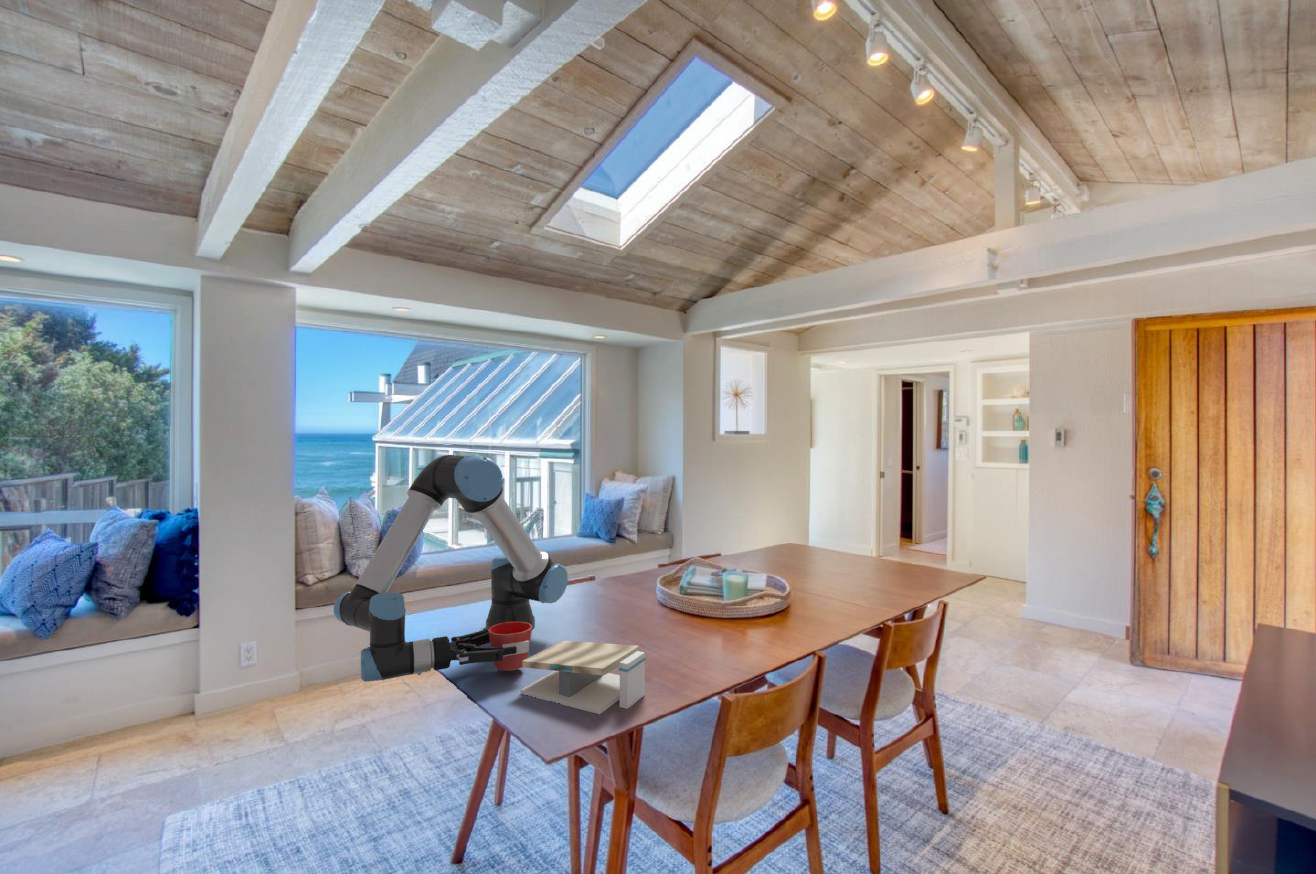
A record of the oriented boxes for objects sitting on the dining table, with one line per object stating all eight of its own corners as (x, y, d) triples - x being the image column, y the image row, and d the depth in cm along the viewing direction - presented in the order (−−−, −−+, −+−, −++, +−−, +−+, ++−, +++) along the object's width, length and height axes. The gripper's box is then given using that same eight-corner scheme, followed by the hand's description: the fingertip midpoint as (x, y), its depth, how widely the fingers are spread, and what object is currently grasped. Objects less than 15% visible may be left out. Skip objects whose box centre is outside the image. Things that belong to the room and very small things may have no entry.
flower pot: (492, 658, 158) (492, 621, 157) (534, 656, 159) (534, 620, 158) (484, 674, 147) (484, 635, 147) (529, 672, 148) (529, 633, 148)
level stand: (520, 693, 140) (521, 651, 140) (566, 667, 156) (566, 629, 156) (615, 718, 128) (615, 672, 128) (655, 687, 144) (655, 645, 144)
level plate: (521, 667, 141) (521, 661, 141) (563, 646, 155) (562, 640, 155) (603, 676, 130) (602, 669, 130) (639, 652, 144) (639, 645, 144)
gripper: (426, 654, 154) (512, 640, 164) (438, 687, 134) (535, 669, 144) (426, 625, 154) (512, 613, 164) (437, 654, 134) (535, 638, 144)
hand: (523, 639), depth 154 cm, fingers closed on flower pot, 10 cm apart
